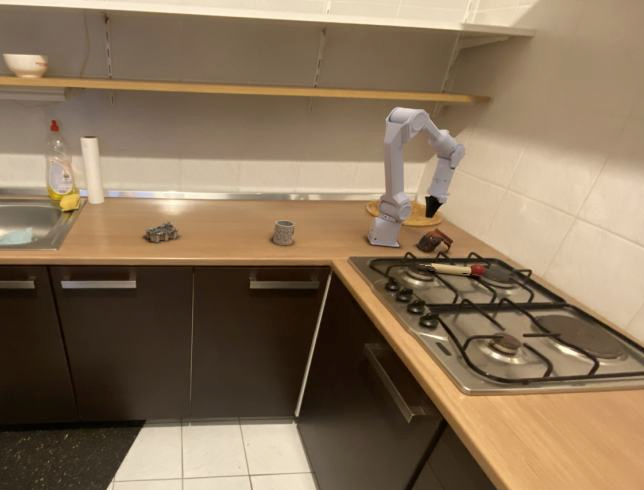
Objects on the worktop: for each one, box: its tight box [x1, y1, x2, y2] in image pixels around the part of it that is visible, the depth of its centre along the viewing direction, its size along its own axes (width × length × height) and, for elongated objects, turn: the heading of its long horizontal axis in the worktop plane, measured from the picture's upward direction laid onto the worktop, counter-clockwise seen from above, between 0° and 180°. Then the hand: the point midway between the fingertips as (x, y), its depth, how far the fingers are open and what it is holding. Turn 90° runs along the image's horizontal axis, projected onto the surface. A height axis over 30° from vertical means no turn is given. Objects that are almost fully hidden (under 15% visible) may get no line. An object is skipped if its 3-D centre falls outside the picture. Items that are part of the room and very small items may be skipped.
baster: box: [419, 262, 486, 278], centre depth 116 cm, size 18×4×4 cm, turn 79°
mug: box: [272, 219, 296, 246], centre depth 135 cm, size 10×7×7 cm, turn 9°
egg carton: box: [144, 221, 180, 243], centre depth 133 cm, size 11×8×4 cm
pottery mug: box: [416, 228, 454, 253], centre depth 132 cm, size 12×10×8 cm
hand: (428, 217), depth 139 cm, fingers closed
